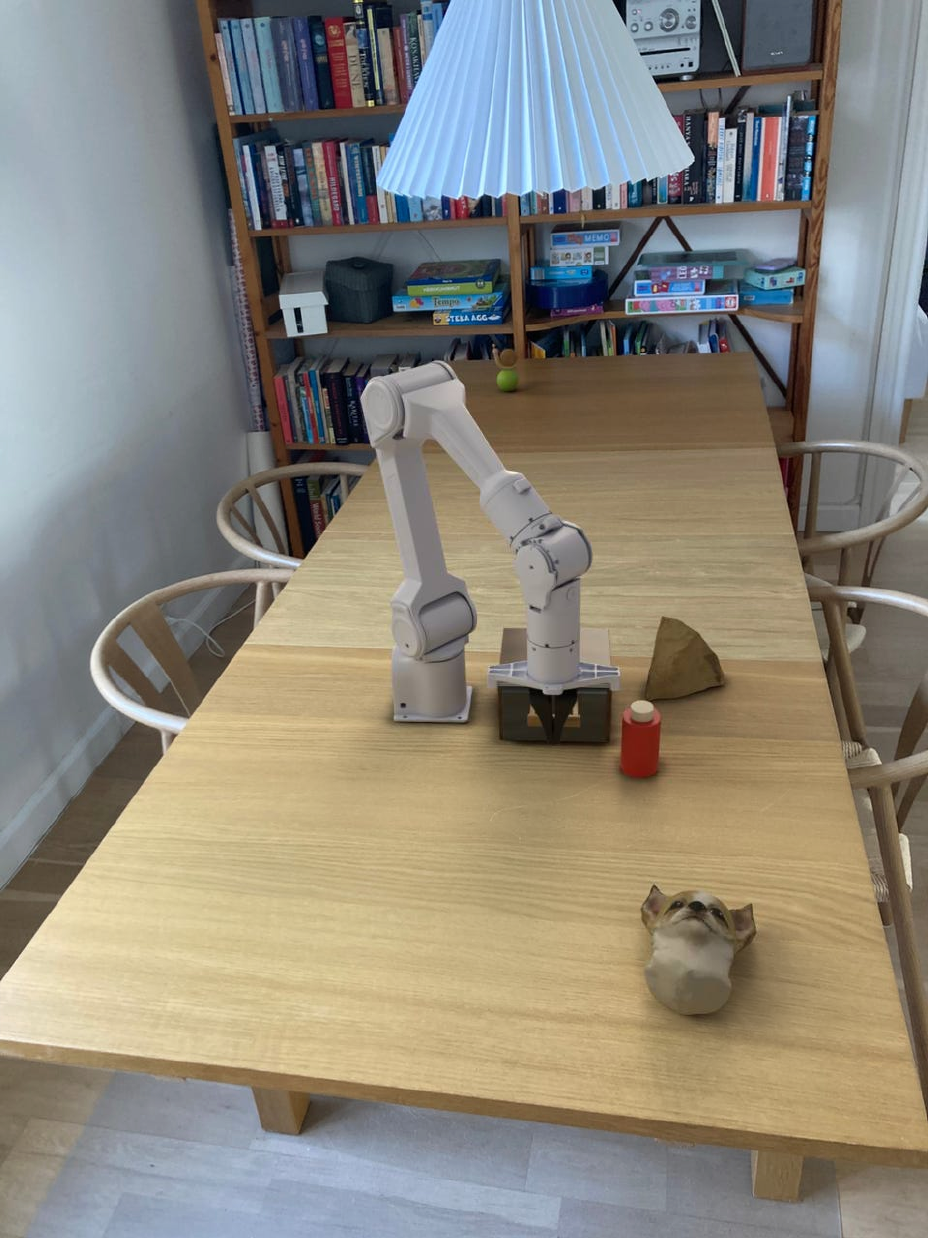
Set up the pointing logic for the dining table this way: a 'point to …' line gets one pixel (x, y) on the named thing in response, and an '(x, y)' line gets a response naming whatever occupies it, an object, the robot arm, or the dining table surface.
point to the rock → (681, 662)
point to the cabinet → (591, 651)
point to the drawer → (579, 725)
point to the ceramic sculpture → (693, 948)
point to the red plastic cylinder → (640, 740)
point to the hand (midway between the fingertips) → (553, 740)
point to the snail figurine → (506, 369)
